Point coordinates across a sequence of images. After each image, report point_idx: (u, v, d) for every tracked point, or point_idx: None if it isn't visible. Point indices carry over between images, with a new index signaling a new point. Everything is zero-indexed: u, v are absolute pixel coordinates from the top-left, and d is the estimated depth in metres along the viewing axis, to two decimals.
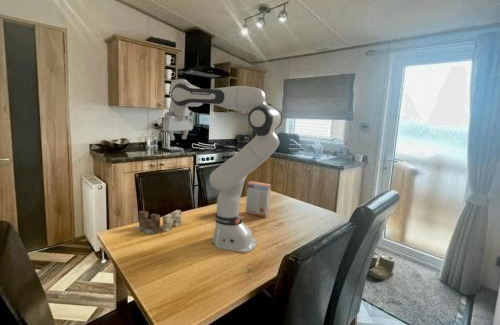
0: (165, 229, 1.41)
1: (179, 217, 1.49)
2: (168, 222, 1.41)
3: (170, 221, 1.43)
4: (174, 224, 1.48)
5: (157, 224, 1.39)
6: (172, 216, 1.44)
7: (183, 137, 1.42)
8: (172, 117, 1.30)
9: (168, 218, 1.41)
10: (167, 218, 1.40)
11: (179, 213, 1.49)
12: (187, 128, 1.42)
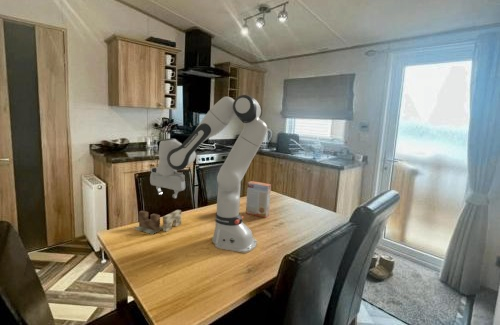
0: (165, 229, 1.41)
1: (179, 217, 1.49)
2: (168, 222, 1.41)
3: (170, 221, 1.43)
4: (174, 224, 1.48)
5: (157, 224, 1.39)
6: (172, 216, 1.44)
7: (161, 193, 1.41)
8: None
9: (168, 218, 1.41)
10: (167, 218, 1.40)
11: (179, 213, 1.49)
12: None
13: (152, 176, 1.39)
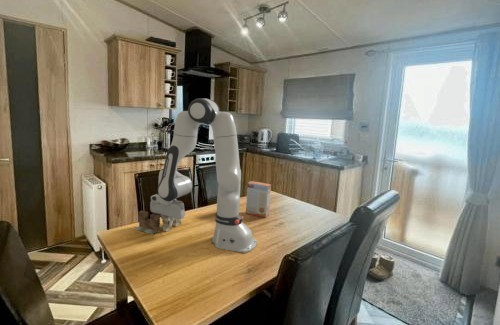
0: (165, 229, 1.41)
1: None
2: None
3: None
4: (174, 224, 1.48)
5: (157, 224, 1.39)
6: None
7: None
8: None
9: (168, 218, 1.41)
10: (167, 218, 1.40)
11: None
12: None
13: (152, 204, 1.42)
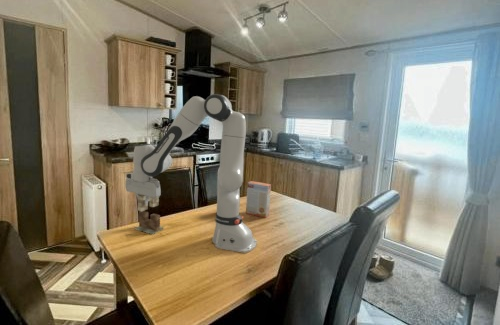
0: (140, 208, 1.35)
1: (156, 198, 1.43)
2: None
3: None
4: (151, 205, 1.42)
5: (157, 224, 1.39)
6: None
7: None
8: None
9: (143, 197, 1.35)
10: (142, 197, 1.34)
11: None
12: None
13: (127, 182, 1.36)
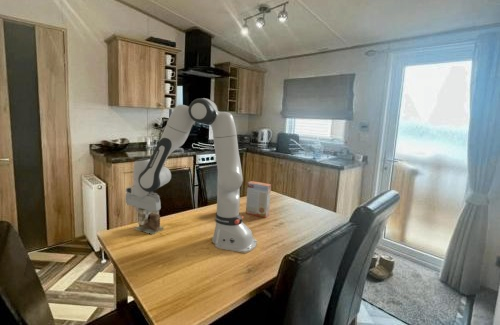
0: (140, 222, 1.36)
1: None
2: None
3: None
4: None
5: (157, 224, 1.39)
6: None
7: None
8: None
9: (144, 211, 1.36)
10: (142, 211, 1.35)
11: None
12: None
13: (127, 196, 1.37)
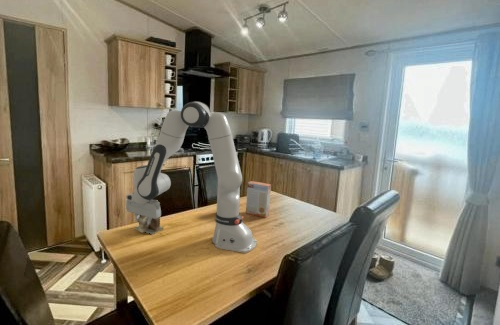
0: (141, 230, 1.37)
1: None
2: (144, 222, 1.37)
3: None
4: None
5: (157, 224, 1.39)
6: None
7: None
8: None
9: (144, 218, 1.37)
10: (143, 218, 1.36)
11: None
12: None
13: (128, 203, 1.38)
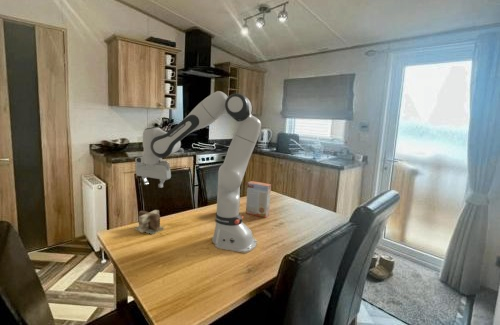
0: (141, 230, 1.37)
1: None
2: (144, 222, 1.37)
3: (146, 221, 1.38)
4: None
5: (157, 224, 1.39)
6: (149, 216, 1.39)
7: (147, 183, 1.39)
8: None
9: (144, 218, 1.37)
10: (143, 218, 1.36)
11: (157, 213, 1.45)
12: None
13: (137, 166, 1.37)
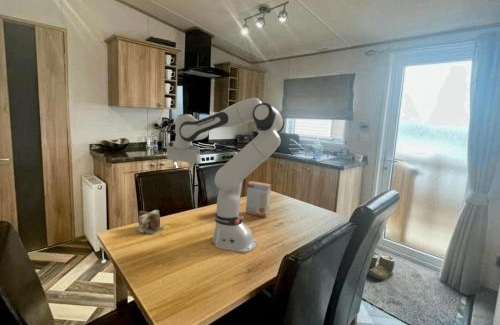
0: (141, 230, 1.37)
1: None
2: (144, 222, 1.37)
3: (146, 221, 1.38)
4: None
5: (157, 224, 1.39)
6: (149, 216, 1.39)
7: (177, 166, 1.49)
8: None
9: (144, 218, 1.37)
10: (143, 218, 1.36)
11: (157, 213, 1.45)
12: None
13: (169, 150, 1.47)
